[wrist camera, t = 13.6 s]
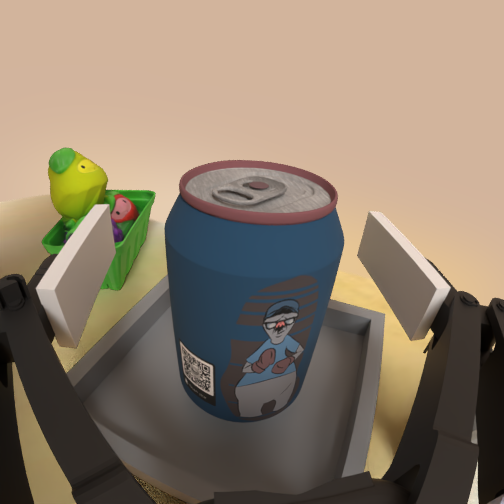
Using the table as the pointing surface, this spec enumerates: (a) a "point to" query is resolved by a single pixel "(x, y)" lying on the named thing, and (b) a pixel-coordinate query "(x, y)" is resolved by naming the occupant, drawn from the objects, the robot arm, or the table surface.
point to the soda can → (250, 282)
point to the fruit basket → (83, 200)
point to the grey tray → (226, 432)
